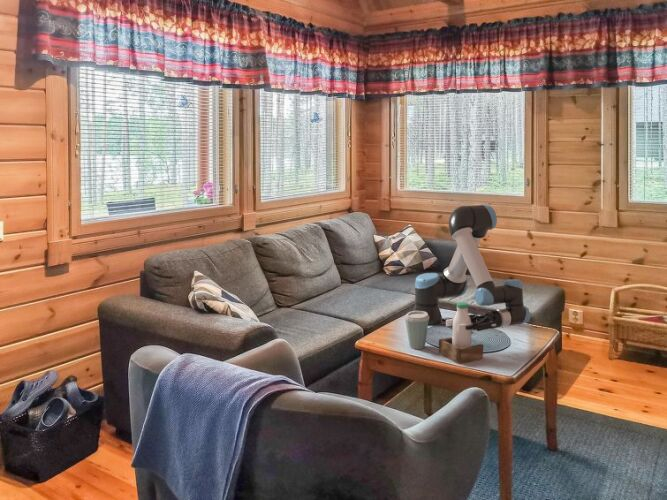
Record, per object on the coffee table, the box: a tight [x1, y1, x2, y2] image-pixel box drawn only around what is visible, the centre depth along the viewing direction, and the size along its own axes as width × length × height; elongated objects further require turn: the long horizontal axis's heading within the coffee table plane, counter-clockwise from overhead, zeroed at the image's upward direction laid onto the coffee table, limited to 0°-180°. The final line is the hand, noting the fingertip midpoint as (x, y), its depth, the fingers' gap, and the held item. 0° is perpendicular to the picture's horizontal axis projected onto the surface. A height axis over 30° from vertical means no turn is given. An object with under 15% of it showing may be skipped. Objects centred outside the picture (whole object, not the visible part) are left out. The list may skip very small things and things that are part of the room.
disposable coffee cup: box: [404, 310, 429, 350], centre depth 258 cm, size 11×11×15 cm
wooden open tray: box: [438, 336, 484, 365], centre depth 247 cm, size 14×12×6 cm
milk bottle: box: [451, 301, 472, 348], centre depth 246 cm, size 8×8×20 cm
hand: (452, 325), depth 244 cm, fingers closed on milk bottle, 7 cm apart
